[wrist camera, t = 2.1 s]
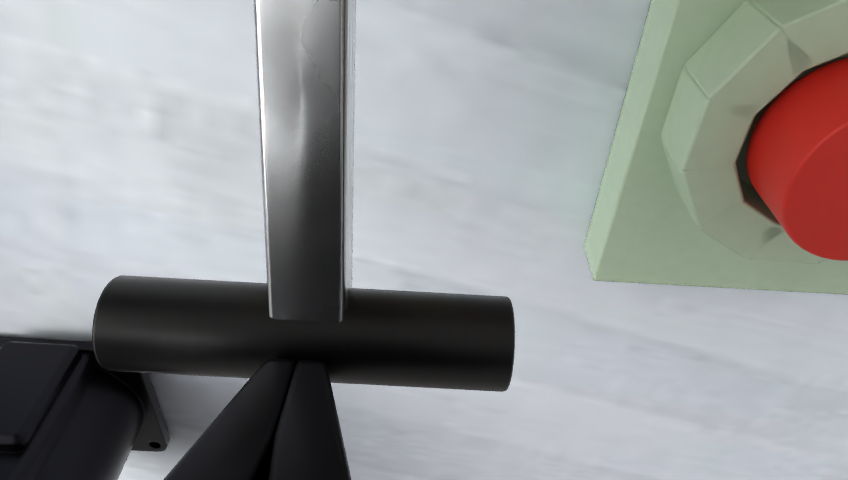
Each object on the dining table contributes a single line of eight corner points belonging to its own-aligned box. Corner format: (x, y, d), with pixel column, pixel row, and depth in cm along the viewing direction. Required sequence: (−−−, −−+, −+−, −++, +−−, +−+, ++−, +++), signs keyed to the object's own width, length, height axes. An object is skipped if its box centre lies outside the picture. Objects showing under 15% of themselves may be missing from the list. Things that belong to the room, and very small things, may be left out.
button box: (824, 260, 20) (884, 339, 18) (583, 246, 20) (605, 324, 17) (1086, -179, 13) (1261, -161, 10) (706, -205, 13) (779, -194, 10)
